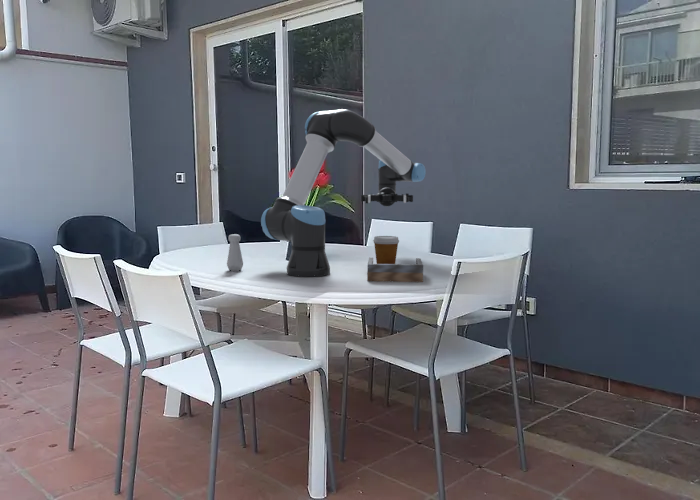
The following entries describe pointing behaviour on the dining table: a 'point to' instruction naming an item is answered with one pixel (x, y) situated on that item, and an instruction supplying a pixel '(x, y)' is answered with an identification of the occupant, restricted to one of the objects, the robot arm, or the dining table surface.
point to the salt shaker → (234, 253)
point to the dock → (395, 272)
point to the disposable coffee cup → (386, 249)
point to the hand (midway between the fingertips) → (387, 199)
